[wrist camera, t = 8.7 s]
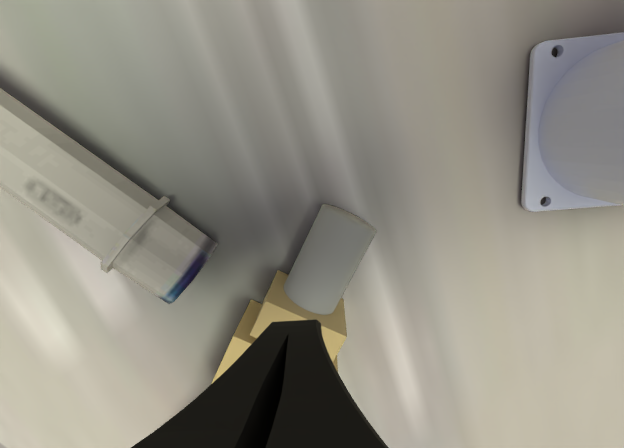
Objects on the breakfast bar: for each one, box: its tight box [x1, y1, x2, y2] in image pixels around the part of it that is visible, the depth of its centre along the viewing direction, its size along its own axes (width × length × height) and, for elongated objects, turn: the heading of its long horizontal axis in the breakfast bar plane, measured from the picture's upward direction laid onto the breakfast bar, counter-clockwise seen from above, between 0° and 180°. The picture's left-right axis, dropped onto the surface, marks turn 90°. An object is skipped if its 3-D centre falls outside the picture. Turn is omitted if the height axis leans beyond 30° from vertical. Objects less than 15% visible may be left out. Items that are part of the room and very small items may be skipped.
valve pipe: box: [212, 204, 376, 383], centre depth 19 cm, size 20×6×4 cm, turn 155°
